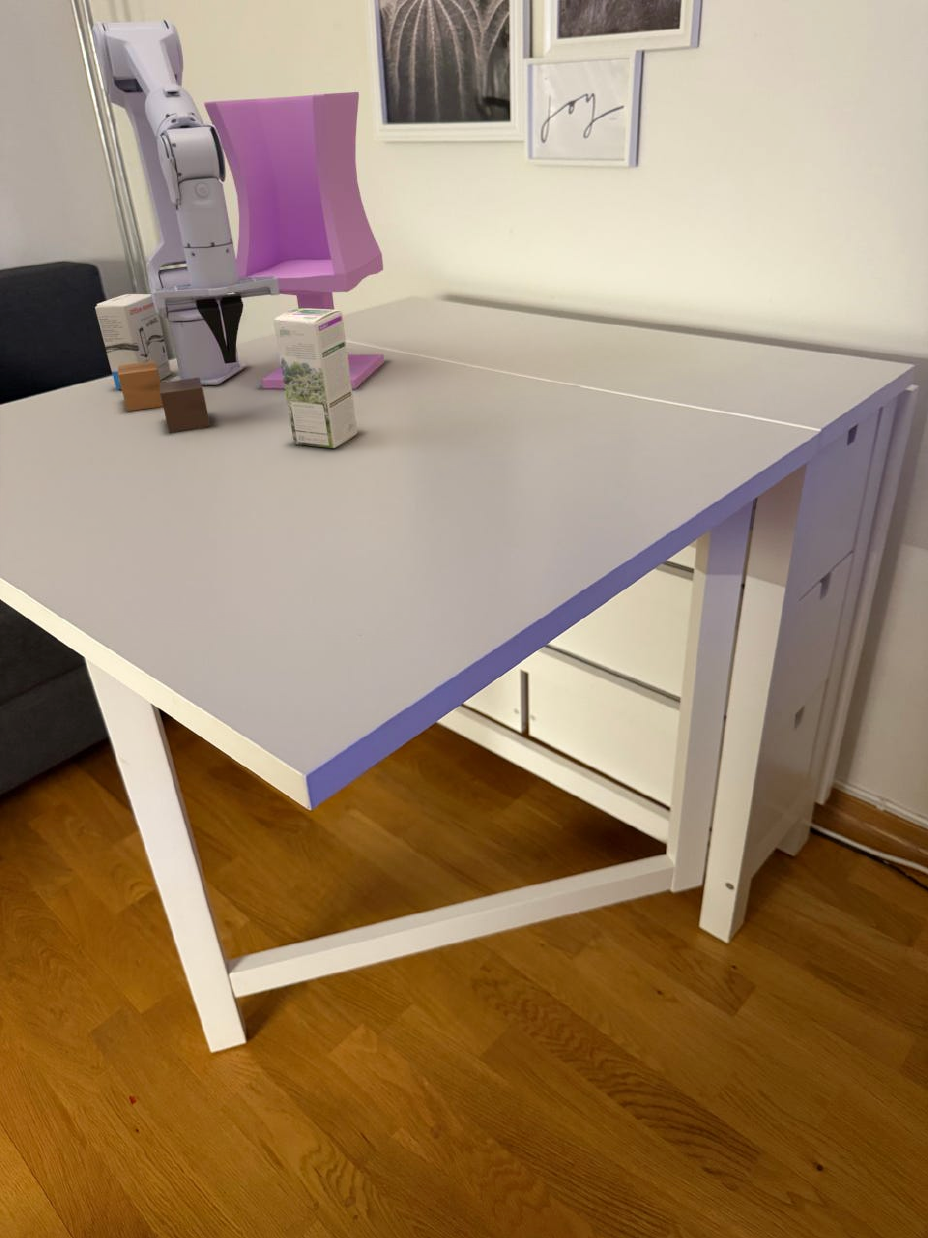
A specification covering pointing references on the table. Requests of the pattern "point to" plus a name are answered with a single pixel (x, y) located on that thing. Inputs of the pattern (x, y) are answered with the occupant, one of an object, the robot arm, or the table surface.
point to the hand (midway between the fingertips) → (230, 361)
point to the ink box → (132, 333)
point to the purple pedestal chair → (300, 200)
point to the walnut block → (184, 404)
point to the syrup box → (316, 376)
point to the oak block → (140, 385)
